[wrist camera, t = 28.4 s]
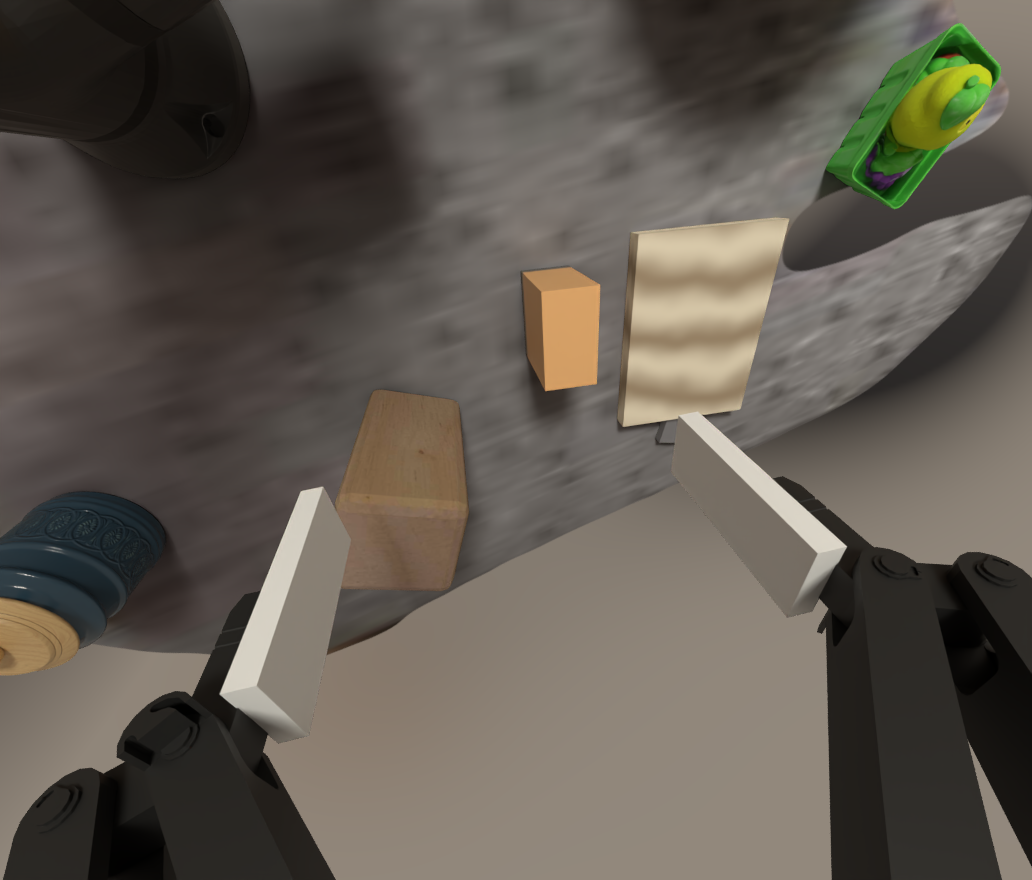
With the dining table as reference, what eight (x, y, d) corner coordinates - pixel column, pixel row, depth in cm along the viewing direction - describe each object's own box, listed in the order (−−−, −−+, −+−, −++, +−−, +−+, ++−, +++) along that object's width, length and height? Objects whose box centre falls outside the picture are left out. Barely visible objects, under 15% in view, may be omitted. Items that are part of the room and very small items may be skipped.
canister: (26, 545, 49) (-152, 700, 34) (50, 471, 44) (-143, 611, 30) (152, 578, 54) (45, 723, 40) (184, 515, 50) (77, 651, 35)
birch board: (630, 232, 41) (638, 234, 39) (775, 217, 43) (789, 218, 41) (617, 419, 53) (623, 426, 51) (730, 402, 54) (740, 409, 53)
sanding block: (520, 270, 41) (541, 291, 33) (567, 265, 42) (600, 285, 33) (526, 354, 46) (545, 391, 38) (568, 348, 47) (596, 383, 38)
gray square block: (662, 411, 54) (668, 416, 53) (689, 411, 55) (695, 417, 53) (654, 436, 56) (659, 442, 55) (679, 436, 57) (685, 442, 55)
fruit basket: (854, 210, 44) (969, 216, 34) (798, 171, 41) (908, 166, 31) (943, 84, 39) (1107, 50, 29) (888, 29, 36) (1050, -29, 26)
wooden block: (460, 397, 48) (472, 511, 31) (447, 466, 53) (451, 596, 36) (372, 384, 45) (332, 500, 28) (367, 457, 50) (330, 593, 33)
